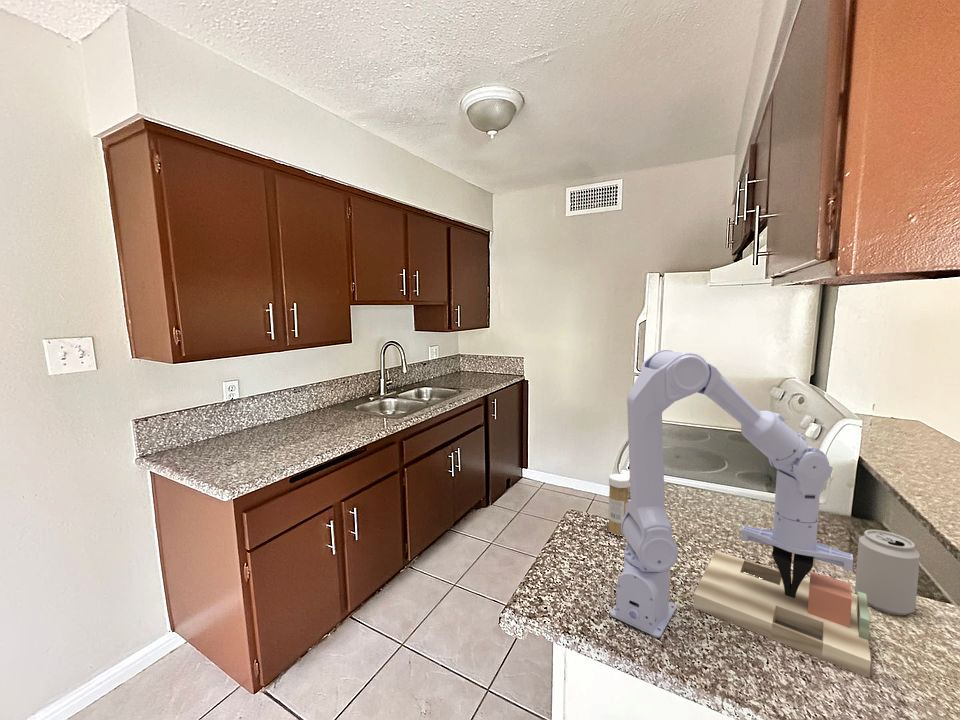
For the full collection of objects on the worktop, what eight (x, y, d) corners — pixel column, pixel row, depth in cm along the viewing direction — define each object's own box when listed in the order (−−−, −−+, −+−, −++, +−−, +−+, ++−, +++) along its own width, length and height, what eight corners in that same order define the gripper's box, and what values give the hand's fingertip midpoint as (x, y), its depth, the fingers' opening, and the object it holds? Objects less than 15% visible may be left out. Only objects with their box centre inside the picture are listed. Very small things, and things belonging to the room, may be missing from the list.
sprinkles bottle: (632, 534, 96) (634, 477, 94) (619, 539, 93) (621, 481, 92) (615, 526, 99) (617, 471, 98) (603, 531, 97) (604, 475, 96)
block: (849, 627, 62) (851, 599, 62) (807, 613, 65) (809, 586, 65) (848, 610, 66) (850, 584, 66) (808, 597, 69) (810, 572, 69)
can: (901, 623, 67) (907, 552, 66) (845, 596, 74) (850, 531, 73) (923, 611, 70) (929, 542, 69) (868, 585, 77) (872, 523, 76)
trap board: (869, 678, 56) (872, 640, 56) (692, 607, 70) (694, 576, 70) (861, 610, 70) (864, 579, 69) (715, 562, 84) (716, 536, 84)
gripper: (854, 520, 66) (847, 600, 67) (747, 495, 75) (743, 566, 76) (855, 536, 61) (849, 624, 62) (740, 508, 70) (736, 584, 71)
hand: (790, 593), depth 69 cm, fingers closed
